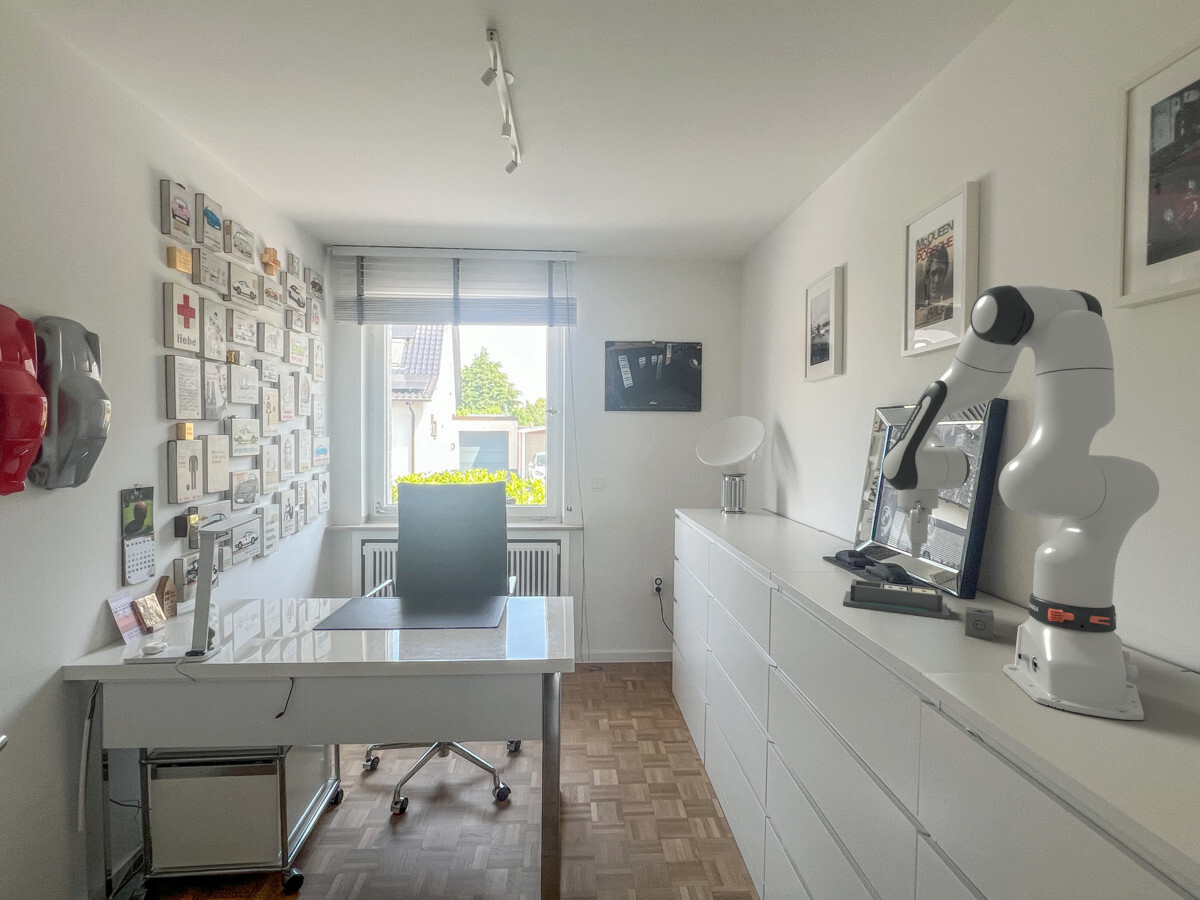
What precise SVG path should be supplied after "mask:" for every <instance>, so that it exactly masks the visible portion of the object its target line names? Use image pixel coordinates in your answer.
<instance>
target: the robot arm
mask: <svg viewBox="0 0 1200 900" xmlns="http://www.w3.org/2000/svg"><path fill="white" fill-rule="evenodd" d="M969 321H970V324H969V326H968V328H967V329H966V331H965V333H964V335H963V337H962V339H961V341H960V343H959V345H958V347H957V349H956V352H955V355H954V357H953V360H952V361H951V363H950V365H949V366H948V367H947V369H946V370H945V371H944V373H943V374H942V375H941V376H940V377H939V378H938V379H937V380H935V381H933V382H931V383H930V384H929V385H928V386H927V387H926V389H925V390H924V391H923V393H921V396H920V398H919V400H918V401H917V403H916V404H915V406H914V409H913V410H912V412H911V414H910V415H909V417H908V419H907V421H906V422H905V424H904V427H903V429H902V430H901V432H900V434H899V436H898V437H897V439H896V441H895V442H894V444H893V445H892V446H891V447H890V449H889V450H888V451H887V452H886V454H885V455H884V456H883V460H882V462H881V463H882V464H881V472H882V476H883V478H884V479H885V480H886V483H888V484H889V485H890V486H891V487H892V488H894V489H895V490H897V504H896V505H897V507H900V508H902V514H904V515H905V527H906V533H907V536H908V540H909V542H910V545H911V547H910V548H911V550H910V551H911V557H912V558H913V559H920V557H921V550H922V544H923V545H924V544H927V542H928V537H929V536H928V535H929V534H928V533H929V532H928V531H929V516H932V515H933V510H935V509H939V494H940V493H939V491H940V490H954V489H959V488H961V487H962V486H963V485H965V483H966V482H967V481H968V480H969V476H970V472H971V463H970V460H969V457H968V456H967V455H966V453H965V451H964V450H961V449H960V448H956V447H954V446H951V445H949V444H946V443H945V442H943V441H942V440H940V437H939V435H938V434H937V433H935V432H934V430H935V429H936V427H937V425H938V424H939V423H940V422H941V421H942V420H944V418H946V417H948V416H949V415H951V414H954V413H956V412H959V411H962V410H965V409H968V408H972V407H975V406H981V405H984V404H985V403H988V402H991V401H992V400H995V399H996V398H997V397H998V396H1000V395H1001V393H1002V392H1003V391H1004V389H1005V388H1006V386H1007V385H1008V384H1009V381H1010V379H1011V377H1012V374H1013V372H1014V370H1015V367H1016V365H1017V361H1018V359H1019V357H1020V354H1021V353H1022V351H1023V350H1024V349H1025V348H1031V350H1032V351H1033V354H1034V391H1035V392H1034V394H1035V395H1034V396H1035V397H1034V402H1035V403H1034V419H1033V424H1032V429H1031V431H1030V434H1029V436H1028V438H1027V441H1026V443H1025V445H1024V446H1023V447H1022V449H1021V451H1020V452H1018V454H1017V455H1016V456H1015V457H1014V458H1012V459H1011V460H1010V461H1009V462H1007V463H1006V465H1004V467H1003V469H1002V470H1001V472H1000V475H999V479H998V492H999V496H1000V497H1001V500H1002V501H1003V503H1004V505H1005V506H1006V507H1007V508H1008V509H1009V510H1011V511H1012V512H1014V513H1018V514H1021V515H1025V516H1030V517H1034V518H1037V519H1038V518H1039V519H1045V520H1046V519H1047V520H1048V519H1050V520H1061V522H1060V525H1059V527H1058V529H1057V531H1056V532H1055V534H1054V535H1053V536H1052V537H1051V538H1049V539H1048V540H1047V541H1044V542H1043V543H1042V544H1040V546H1039V547H1037V549H1036V551H1035V554H1034V563H1033V565H1034V568H1033V581H1032V582H1033V583H1032V585H1033V586H1032V587H1033V588H1032V593H1031V594H1030V595H1029V600H1028V614H1029V617H1028V618H1027V620H1026V621H1025V622H1022V623H1021V624H1020V625H1018V627H1017V635H1016V643H1015V644H1016V645H1015V646H1016V647H1015V656H1014V663H1009V664H1004V665H1003V668H1002V669H1003V672H1004V673H1005V674H1006V675H1007V676H1008V678H1010V679H1011V680H1012V681H1013V682H1014V683H1015V684H1016V685H1017V686H1018V687H1020V689H1021V690H1022V691H1024V692H1025V693H1026V694H1027V695H1028V696H1029V697H1030V698H1031V699H1032V700H1033V701H1035V702H1036V703H1039V704H1042V705H1045V706H1048V705H1049V707H1051V706H1052V707H1051V708H1055V707H1056V708H1055V709H1060V710H1063V709H1064V711H1068V712H1072V713H1079V714H1083V715H1087V716H1088V715H1090V716H1095V717H1102V718H1108V719H1115V720H1128V721H1142V720H1145V712H1144V709H1143V706H1142V702H1141V698H1140V695H1139V692H1138V689H1137V686H1136V685H1135V684H1134V683H1131V682H1129V681H1137V680H1138V677H1139V676H1138V675H1139V673H1138V672H1139V670H1138V666H1137V665H1134V664H1128V663H1125V661H1130V652H1129V651H1125V650H1123V649H1122V642H1123V641H1122V640H1123V638H1121V637H1120V636H1119V635H1118V634H1117V633H1116V632H1115V631H1116V630H1117V620H1118V619H1117V613H1116V606H1115V605H1114V604H1113V599H1114V597H1113V596H1114V583H1115V573H1116V564H1117V560H1118V556H1119V553H1120V550H1121V547H1122V545H1123V543H1124V541H1125V539H1126V537H1127V535H1128V533H1129V532H1130V530H1131V528H1132V527H1133V525H1134V524H1136V522H1137V521H1138V520H1139V519H1140V518H1141V517H1142V516H1144V515H1145V514H1146V513H1148V512H1149V511H1150V510H1152V508H1153V507H1154V506H1155V505H1156V504H1157V501H1158V499H1159V496H1160V482H1159V480H1158V477H1157V476H1156V474H1155V472H1154V470H1152V469H1151V467H1149V466H1148V464H1147V465H1146V464H1145V463H1143V462H1141V461H1136V460H1133V459H1130V458H1125V457H1121V456H1116V455H1101V454H1100V455H1099V454H1093V455H1092V454H1090V449H1091V446H1092V442H1093V439H1094V438H1095V435H1096V434H1097V432H1098V431H1099V430H1101V429H1103V428H1104V427H1106V426H1108V425H1109V424H1110V423H1111V422H1112V421H1113V419H1114V418H1115V415H1116V393H1115V392H1116V391H1115V389H1116V388H1115V368H1114V366H1115V365H1114V357H1113V355H1114V354H1113V349H1112V343H1111V340H1110V335H1109V331H1108V328H1107V325H1106V324H1107V323H1106V322H1105V320H1104V318H1103V309H1102V305H1101V303H1100V301H1099V300H1098V298H1097V297H1096V296H1094V295H1092V294H1090V293H1087V292H1084V291H1081V290H1076V289H1069V290H1067V289H1063V288H1056V287H1055V288H1054V287H1048V286H1043V285H1017V286H1013V285H1010V284H1009V285H1000V286H999V285H998V286H995V287H994V286H993V287H991V288H987V289H986V290H984V291H982V293H980V294H979V295H978V297H976V300H975V302H974V303H973V305H972V307H971V312H970V320H969ZM1128 680H1129V681H1128Z"/></svg>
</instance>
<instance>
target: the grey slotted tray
mask: <svg viewBox="0 0 1200 900" xmlns="http://www.w3.org/2000/svg"><path fill="white" fill-rule="evenodd" d="M884 585H891V586H900V587H907V591H903V590H894V589H886V588H884ZM912 588H918V589H927V590H935V593H936V594H929V593H920V592H912ZM845 591H846V590H845ZM943 597H944V595H943V592H942V589H940V588H934V587H923V586H917V585H916V586H915V585H914V586H913V585H906V584H899V583H889V582H880V581H872V580H864V579H863V580H861V579H854V578H853V579H851V583H850V591H846V592H845V595H844V597H843V601H842V606H843V607H850V608H851V607H853V608H858V609H867V610H874V611H882V612H890V613H898V614H906V615H915V616H921V617H922V616H923V617H930V618H937V619H944V620H951V614H950V611H949V608H948V605H947V603H946V602H943V601H944V600H943V599H944V598H943Z"/></svg>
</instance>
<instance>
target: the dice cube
mask: <svg viewBox="0 0 1200 900" xmlns="http://www.w3.org/2000/svg"><path fill="white" fill-rule="evenodd" d="M964 614H965V615H964V617H965V618H964V636H967V637H973V638H982V639H986V640H993V639H994V638H993V637H994V621H995V620H994V619H995V618H994V617H995V615H994V611H993V610H992V609H984V608H979V607H970V606H965V613H964Z"/></svg>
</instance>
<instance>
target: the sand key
mask: <svg viewBox="0 0 1200 900" xmlns="http://www.w3.org/2000/svg"><path fill="white" fill-rule="evenodd" d="M912 592H920V593H929V594H936V593H935V590H927V589H918V588H912Z"/></svg>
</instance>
